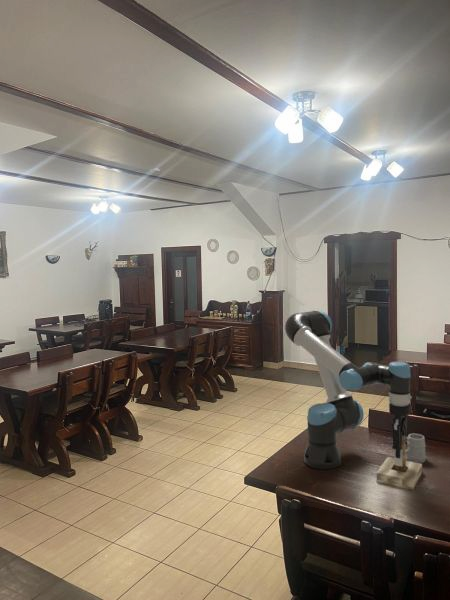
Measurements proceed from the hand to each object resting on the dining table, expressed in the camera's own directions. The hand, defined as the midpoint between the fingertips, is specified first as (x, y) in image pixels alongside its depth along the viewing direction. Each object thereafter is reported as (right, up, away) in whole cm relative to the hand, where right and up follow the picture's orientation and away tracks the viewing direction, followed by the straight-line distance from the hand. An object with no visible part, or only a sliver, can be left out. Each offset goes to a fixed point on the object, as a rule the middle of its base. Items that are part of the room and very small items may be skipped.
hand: (400, 462), depth 173 cm
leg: (0, -3, 0) cm, 3 cm away
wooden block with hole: (0, -6, +1) cm, 6 cm away
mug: (+11, -4, +15) cm, 19 cm away
